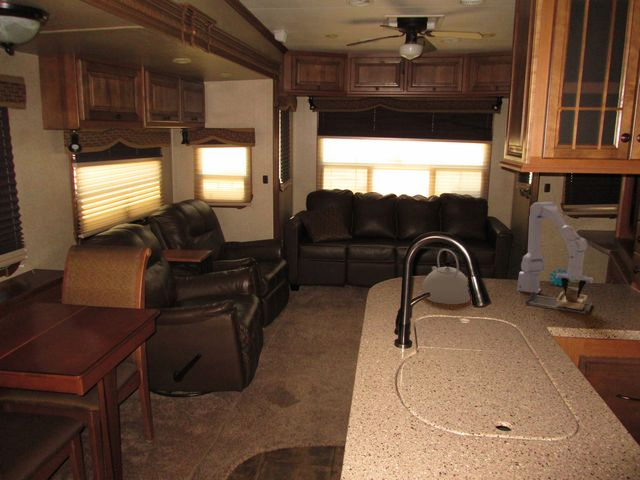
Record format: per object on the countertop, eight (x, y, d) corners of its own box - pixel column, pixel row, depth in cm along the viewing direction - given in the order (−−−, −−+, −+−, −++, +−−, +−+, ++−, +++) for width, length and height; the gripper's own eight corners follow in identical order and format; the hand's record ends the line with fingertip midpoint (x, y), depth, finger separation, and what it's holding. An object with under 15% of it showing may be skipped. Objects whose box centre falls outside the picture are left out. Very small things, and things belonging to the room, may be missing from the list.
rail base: (525, 304, 231) (525, 300, 231) (532, 295, 244) (533, 291, 244) (587, 315, 218) (587, 311, 217) (591, 304, 231) (592, 301, 231)
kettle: (410, 290, 252) (412, 245, 247) (451, 286, 258) (454, 242, 253) (436, 306, 228) (439, 257, 224) (481, 301, 235) (484, 253, 230)
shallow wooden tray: (555, 307, 225) (555, 300, 224) (561, 297, 237) (561, 291, 237) (582, 311, 219) (582, 304, 218) (586, 301, 232) (587, 295, 231)
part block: (565, 299, 227) (566, 288, 226) (567, 297, 231) (568, 286, 230) (576, 301, 225) (578, 290, 224) (578, 298, 229) (579, 288, 227)
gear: (545, 280, 263) (554, 265, 265) (547, 286, 267) (556, 271, 269) (566, 288, 255) (576, 272, 257) (568, 294, 259) (577, 278, 261)
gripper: (555, 265, 225) (552, 295, 228) (592, 270, 217) (589, 301, 220) (558, 262, 231) (555, 291, 234) (594, 267, 223) (591, 297, 226)
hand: (572, 295), depth 227 cm, fingers closed on part block, 4 cm apart
